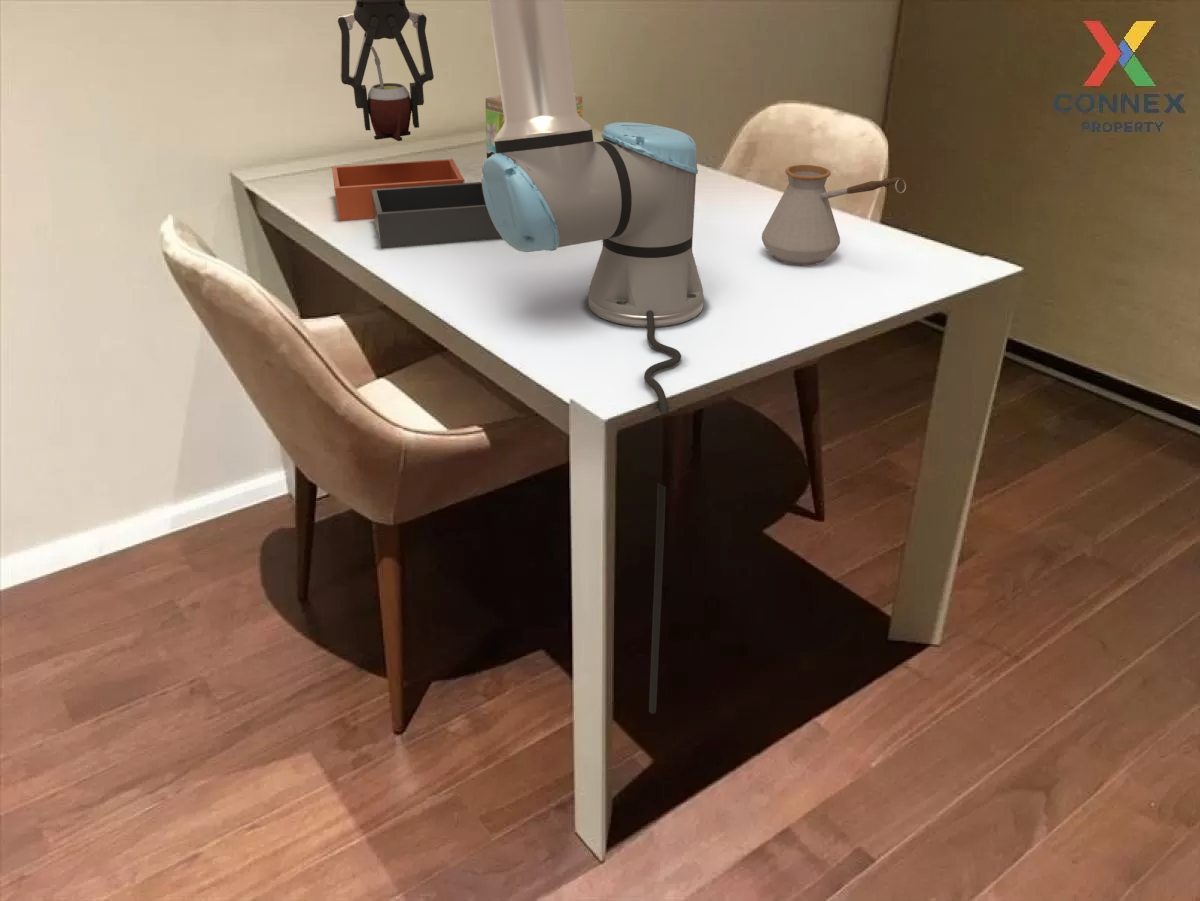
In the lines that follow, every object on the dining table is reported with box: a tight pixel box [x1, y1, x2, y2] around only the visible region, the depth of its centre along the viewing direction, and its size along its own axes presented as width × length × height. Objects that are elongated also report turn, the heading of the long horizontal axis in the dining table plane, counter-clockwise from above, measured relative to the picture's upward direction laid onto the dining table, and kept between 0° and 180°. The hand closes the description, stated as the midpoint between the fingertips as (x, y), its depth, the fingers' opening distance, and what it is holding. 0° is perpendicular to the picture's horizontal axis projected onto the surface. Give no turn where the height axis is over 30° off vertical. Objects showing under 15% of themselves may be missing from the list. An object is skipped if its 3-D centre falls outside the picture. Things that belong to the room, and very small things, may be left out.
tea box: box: [485, 93, 583, 160], centre depth 186 cm, size 15×10×15 cm
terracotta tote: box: [331, 158, 465, 221], centre depth 175 cm, size 13×21×5 cm, turn 105°
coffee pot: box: [761, 164, 907, 266], centre depth 148 cm, size 21×12×15 cm, turn 43°
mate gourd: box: [367, 45, 412, 142], centre depth 167 cm, size 8×8×15 cm
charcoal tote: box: [371, 181, 503, 249], centre depth 164 cm, size 13×21×5 cm, turn 105°
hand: (391, 126), depth 170 cm, fingers closed on mate gourd, 7 cm apart
